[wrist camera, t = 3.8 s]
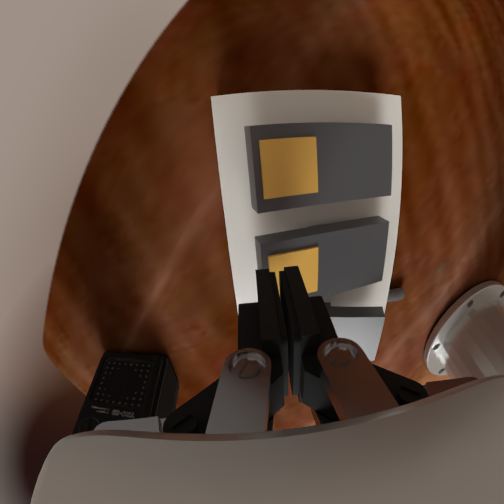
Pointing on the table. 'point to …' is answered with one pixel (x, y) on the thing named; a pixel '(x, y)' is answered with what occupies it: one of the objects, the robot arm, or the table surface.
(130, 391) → the portable radio
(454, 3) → the table surface
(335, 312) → the rocker near arm
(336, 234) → the rocker middle
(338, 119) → the rocker switch panel
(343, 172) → the rocker far end
